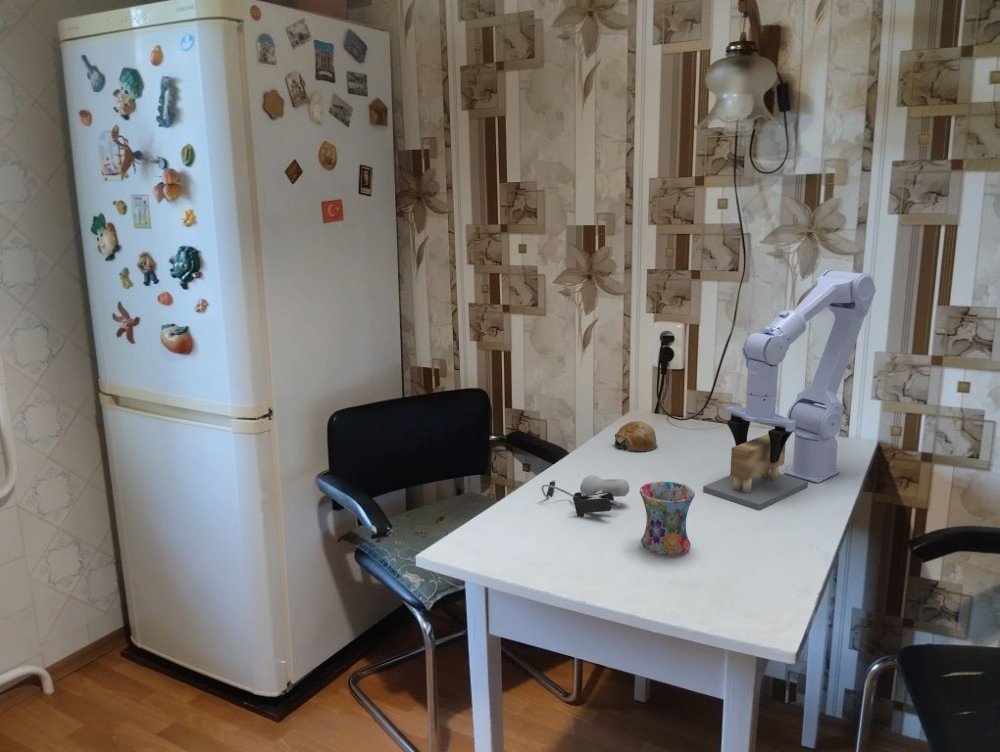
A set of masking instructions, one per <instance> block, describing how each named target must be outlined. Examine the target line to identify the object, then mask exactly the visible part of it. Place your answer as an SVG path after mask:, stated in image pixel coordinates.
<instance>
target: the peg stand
mask: <svg viewBox="0 0 1000 752" xmlns="http://www.w3.org/2000/svg"><path fill="white" fill-rule="evenodd" d="M808 487H809V480H805V479H802V478H798V477H795V476H791V475H788V474H785V473H780V466H778V467H776V468H774V469H772V470H769V471H767V472H765V473H762V474H760V475H758V476H755V477H753V478H751V479H748V480H742V479H739V478H736V477H732V476H730V475H727V476H725V477H723V478H720V479H718V480H715V481H713V482H710V483H707V484H706V485H703V486H702V488H703V489H702V492H703V491H704V492H703V493H705V492H706V494H708V493H709V494H708V495H711V494H712V495H711V496H714V495H715V496H714V497H717V496H718V497H717V498H721V499H723V500H727V501H729V502H732V503H736V504H737V505H738V504H739V505H741V506H745V507H747V508H751V509H754V510H757V511H761V510H763V509H765V508H768V507H769V506H771V505H773V504H775V503H777V501H778V502H779V501H782V500H783V499H785V498H788V497H789V496H793V495H794V494H796V493H798V492H801V491H802V490H805V489H807V488H808ZM768 505H769V506H768Z"/></svg>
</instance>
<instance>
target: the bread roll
mask: <svg viewBox="0 0 1000 752" xmlns="http://www.w3.org/2000/svg"><path fill="white" fill-rule="evenodd" d="M614 438H615V439H614V445H615V446H616V447H617V448H618V447H619V449H620V448H621V449H620V450H622V449H624V450H623V451H626V450H628V451H627V452H633V451H638V452H637V453H641V452H650V451H653V450H655V449H657V448H658V444H657V437H656V431H655V429H654V428H653V427H652V426H651V425H650V424H649V423H647V422H644V421H642V420H640V421H638V420H637V421H636V420H635V421H629V422H628V423H626V424H623V426H621V427H620V428H619V430H618V431H617V432H616V433H615V434H614ZM654 448H655V449H654ZM649 450H650V451H649ZM640 451H641V452H640Z"/></svg>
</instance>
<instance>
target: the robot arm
mask: <svg viewBox="0 0 1000 752" xmlns="http://www.w3.org/2000/svg"><path fill="white" fill-rule="evenodd" d="M814 285H815V286H814V288H812V290H811V291H810V292H809V293H808V294H807V296H805V298H804V299H802V301H801V302H799V304H798V305H797V306H796V307H795V308H794V309H792V310H791V309H786V310H782V311H780V312H779V314H778V316H777V317H776V318H775V319H774V320H772V321H771V322H770V323H769V324H768V325H766V326H765V327H764V328H763V330H761V331H760V332H754V333H752V334H750V335H749V336H748V337H747V338H746V340H745V341H744V345H743V346H742V347H741V352H742V355H743V357H744V359H745V367H746V369H747V379H746V399H745V407H738V406H733V405H732V406H728V407H726V418H729V420H727V423H726V424H727V426H728V428H729V430H730V432H731V434H732V436H733V440H734V443H735V446H737V445H740V444H742V443H745V442H748V433H749V427H750V424H751V422H752V423H755V424H760V425H765V426H769V427H773V429H769V430H767V432H768V433H767V434H769V439H770V463H776V462H778V461H779V458H780V455H781V452H782V449H783V447H784V445H785V446H786V444H787V443H786V442H787V441H788V440H789V438H790V436H791V435H792V434H793V433H794V440H793V441H794V443H793V454H792V455H793V457H792V458H793V459H792V467H790V468H789V469H788V468H787V469H786V470H784V471H783V474H784V475H787V476H791V477H794V478H798V479H801V480H805V481H808V482H813V483H816V484H817V483H818V484H819V483H820V482H823V481H824V480H827V479H829V478H831V477H833V476H835V475H837V474H840V472H841V471H840V470H839V469H836V468H837V457H838V440H837V438H836V437H835V436H836V435H837V434H838V433H839V431H840V429H841V428H842V417H843V413H844V410H845V407H844V405H843V403H842V402H841V400H840V399H839V398H838V396H837V394H838V392H839V389H840V385H841V383H842V380H843V377H844V375H845V373H846V369H847V366H848V363H849V361H850V359H851V357H852V353H853V351H854V347H855V346H856V343H857V339H858V338H859V334H860V331H861V329H862V327H863V325H864V324H863V323H864V322H865V321H864V320H865V317H867V316H868V314H869V313H868V312H869V310H870V309H871V308H870V307H871V304H872V302H873V299H874V296H875V293H876V292H877V289H876V286H875V281H874V279H873V277H872V275H871V274H870V273H866V272H861V273H860V272H852V271H842V270H840V271H839V270H835V269H827V270H825V271H824V272H822V273H821V275H820V276H818V277H817V278H816V280H815V284H814ZM826 308H827V309H828V310H829V311H830V312H832V314H833V315H834V318H835V320H834V322H833V325H832V327H831V330H830V333H829V336H828V338H827V341H826V343H825V346H824V348H823V351H822V355H821V357H820V360H819V363H818V365H817V368H816V371H815V374H814V375H813V379H812V382H811V385H810V387H808V388H806V389H804V390H802V391H801V392H799V393H797V396H796V399H794V401H793V403H792V404H791V405H790V407H789V408H788V412H787V417H785V416H782V415H780V414H778V413H776V410H777V409H776V406H777V393H778V392H777V391H778V390H777V389H778V378H779V377H778V376H779V375H778V374H779V364H780V363H782V362H783V360H784V359H785V357H786V355H787V351H788V350H789V349H790V347H791V344H793V343H794V342H795V341H796V340H797V339H798V338H799V337H801V336H802V334H804V333H805V331H806V330H807V322H809V321H810V320H812V319H813V318H814V317H816V315H817V314H819V313H821V311H823V310H824V309H826ZM785 443H786V444H785Z"/></svg>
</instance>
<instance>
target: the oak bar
mask: <svg viewBox="0 0 1000 752" xmlns="http://www.w3.org/2000/svg"><path fill="white" fill-rule="evenodd" d="M786 444H787V443H785V445H784V447H783V449H782V452H781V455H780V458H779V461H778V462H776V463H770V439H769V434H768V433H767V434H764V435H761V436H759V437H755V438H753V439H751V440H747V442H745V443H742V444H740V445H737V446H736V445H735V446H732V447H731V453H730V454H731V455H730V473H729V474H730V476H732V477H736V478H739V479H742V480H748V479H751V478H753V477H755V476H758V475H760V474H762V473H765V472H767V471H769V470H770V471H771V470H772V469H774V468H776V467H778V466H779V467H780V466H784V465H785V456H786Z"/></svg>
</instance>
